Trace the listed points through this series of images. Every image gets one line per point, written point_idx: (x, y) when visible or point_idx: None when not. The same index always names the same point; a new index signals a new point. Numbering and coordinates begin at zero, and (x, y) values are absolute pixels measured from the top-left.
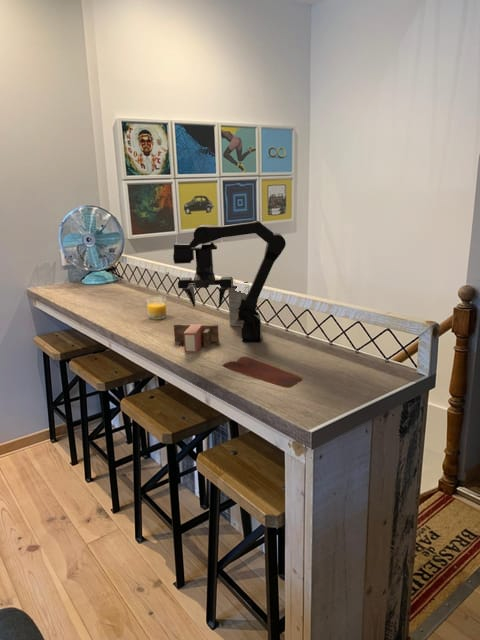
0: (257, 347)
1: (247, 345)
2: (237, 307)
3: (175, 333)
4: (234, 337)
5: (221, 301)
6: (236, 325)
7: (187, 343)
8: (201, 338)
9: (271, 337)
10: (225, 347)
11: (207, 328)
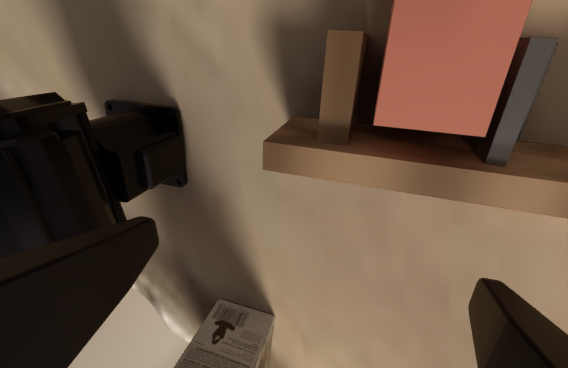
0: (99, 27)
1: (146, 57)
2: (24, 198)
3: None
4: (228, 176)
5: (68, 238)
6: (247, 309)
7: None
8: (382, 62)
9: None
10: (239, 17)
11: (337, 138)
